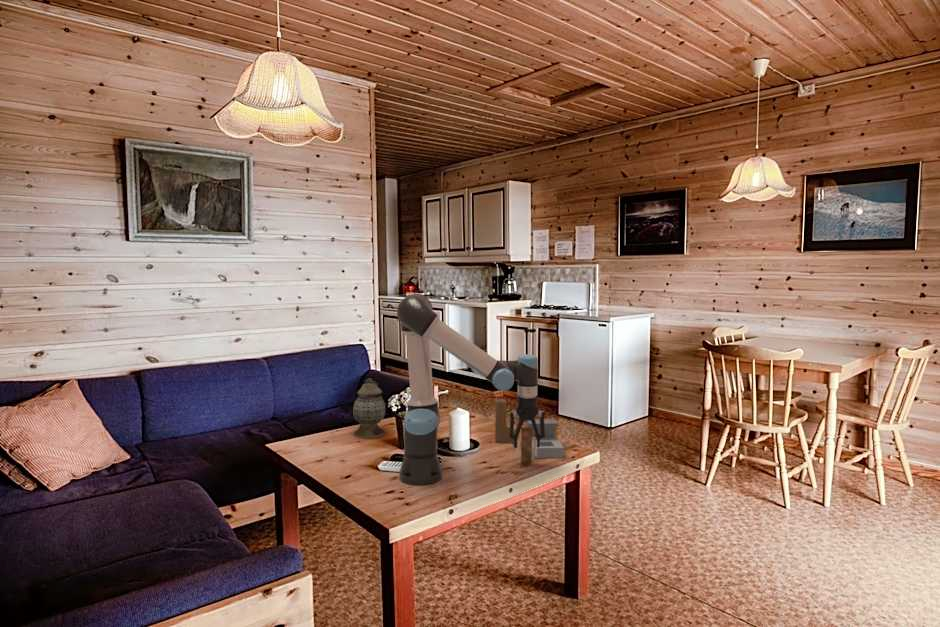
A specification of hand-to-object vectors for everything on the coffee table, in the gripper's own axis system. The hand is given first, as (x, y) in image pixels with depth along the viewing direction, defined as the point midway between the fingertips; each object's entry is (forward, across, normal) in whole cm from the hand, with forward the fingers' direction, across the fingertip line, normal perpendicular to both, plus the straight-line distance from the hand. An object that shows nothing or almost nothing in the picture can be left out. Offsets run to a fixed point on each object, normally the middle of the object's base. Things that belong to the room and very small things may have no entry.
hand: (526, 455), depth 217 cm
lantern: (+4, -63, +42) cm, 76 cm away
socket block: (+3, +10, +14) cm, 18 cm away
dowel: (+3, 0, 0) cm, 3 cm away
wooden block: (+4, -4, +27) cm, 28 cm away
